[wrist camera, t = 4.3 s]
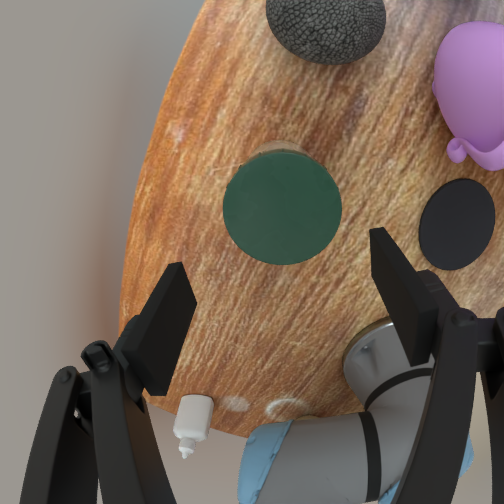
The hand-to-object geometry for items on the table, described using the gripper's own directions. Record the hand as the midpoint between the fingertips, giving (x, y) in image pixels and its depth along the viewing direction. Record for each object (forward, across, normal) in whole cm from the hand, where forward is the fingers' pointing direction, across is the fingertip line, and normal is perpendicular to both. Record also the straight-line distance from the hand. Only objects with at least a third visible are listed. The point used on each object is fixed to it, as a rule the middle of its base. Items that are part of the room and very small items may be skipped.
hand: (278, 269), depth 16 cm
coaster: (+18, +21, -9) cm, 29 cm away
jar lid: (+7, 0, +1) cm, 7 cm away
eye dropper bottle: (+18, -20, -33) cm, 43 cm away
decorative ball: (+18, +8, +15) cm, 25 cm away
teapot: (+18, +26, +8) cm, 32 cm away
